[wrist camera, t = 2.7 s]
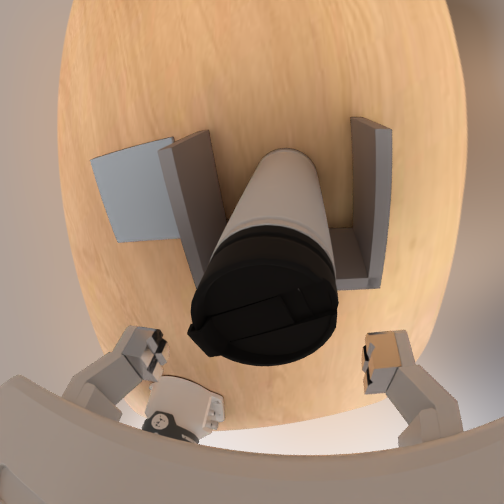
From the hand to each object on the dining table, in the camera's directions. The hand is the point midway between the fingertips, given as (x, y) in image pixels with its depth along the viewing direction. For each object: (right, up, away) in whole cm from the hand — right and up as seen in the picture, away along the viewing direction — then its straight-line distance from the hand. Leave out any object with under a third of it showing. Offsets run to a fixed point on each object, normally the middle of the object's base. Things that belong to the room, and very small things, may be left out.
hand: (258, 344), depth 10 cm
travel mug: (+3, +11, +17) cm, 21 cm away
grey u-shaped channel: (+3, +11, +17) cm, 21 cm away
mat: (-14, +10, +21) cm, 27 cm away
